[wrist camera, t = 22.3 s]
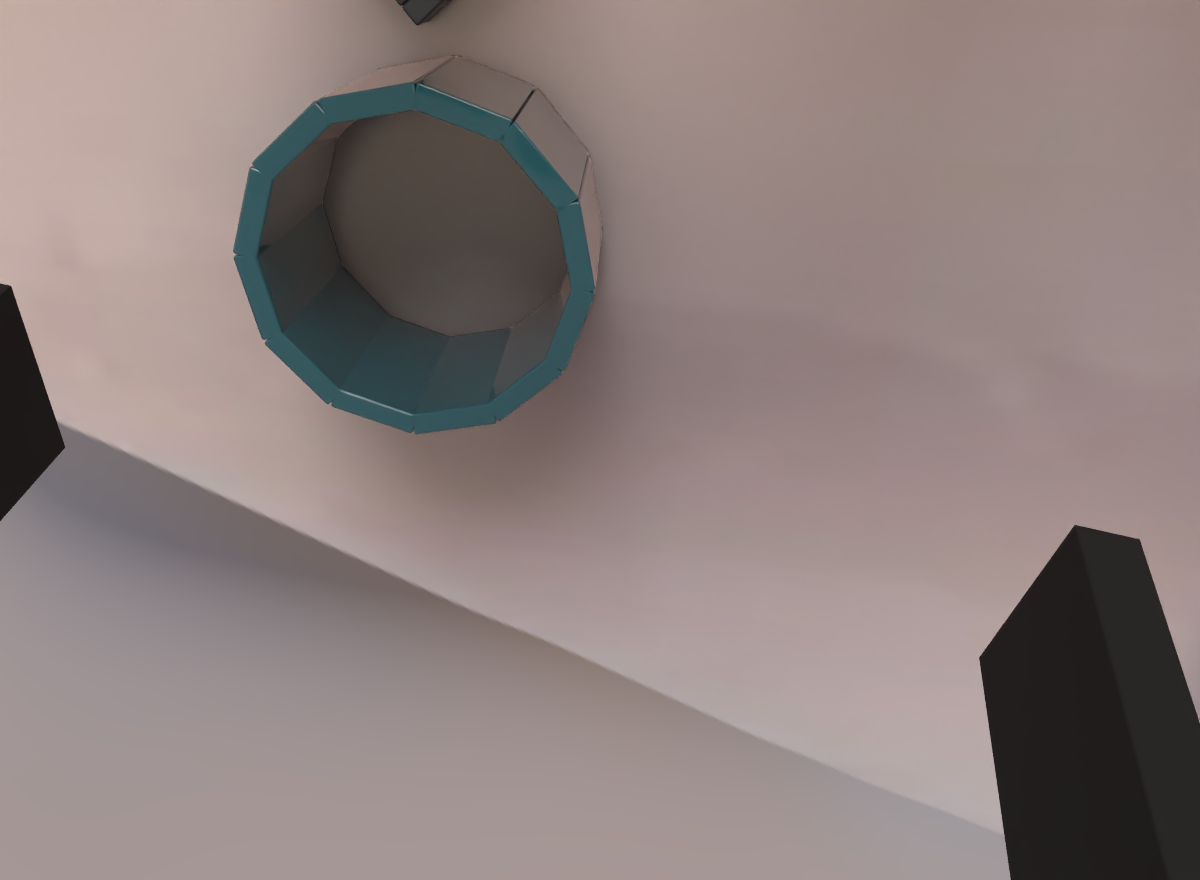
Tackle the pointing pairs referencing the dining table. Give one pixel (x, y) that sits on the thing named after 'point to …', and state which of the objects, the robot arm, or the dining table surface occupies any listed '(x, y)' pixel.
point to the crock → (349, 314)
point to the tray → (422, 9)
